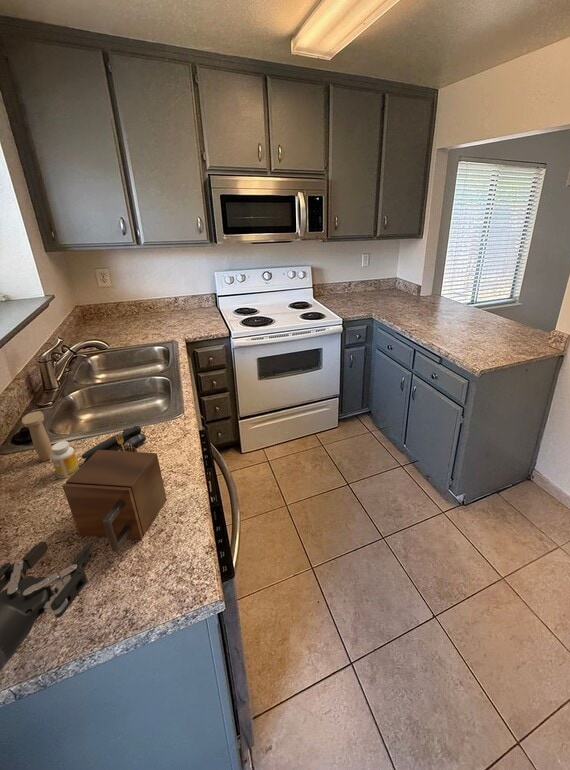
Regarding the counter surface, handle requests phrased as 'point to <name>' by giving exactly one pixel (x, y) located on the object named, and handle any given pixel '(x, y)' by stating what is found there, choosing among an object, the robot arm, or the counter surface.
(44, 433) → the handle
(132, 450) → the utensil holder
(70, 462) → the supplement bottle
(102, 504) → the cupboard door
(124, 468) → the cupboard
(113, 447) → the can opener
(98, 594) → the counter surface
